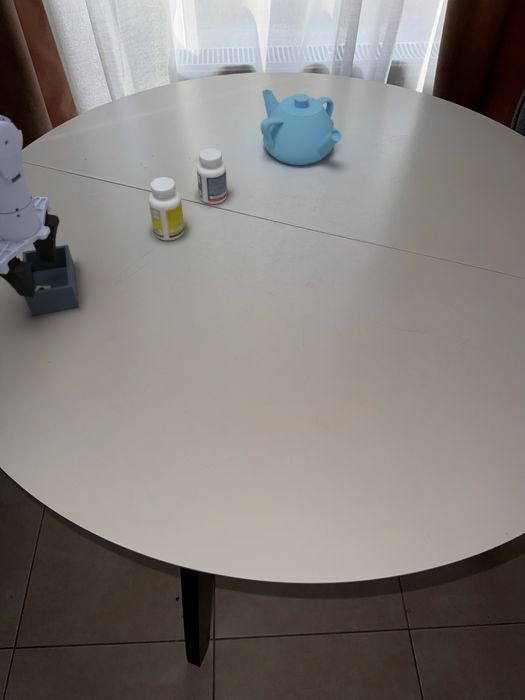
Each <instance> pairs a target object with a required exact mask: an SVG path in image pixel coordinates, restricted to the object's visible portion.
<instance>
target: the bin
mask: <svg viewBox="0 0 525 700" xmlns="http://www.w3.org/2000/svg"><path fill="white" fill-rule="evenodd" d="M22 261H26V262H32V265H31V279H32V283H33V286H34V290H36V287H37V286H51V288H48V289H42V290H37V291H35V295H34V296H33V297H32V298H31V297H24V300H25V302H26V305H27V307H28V310H29V311H30V314H31V316H39V315H43V314H45V315H46V314H50V313H56V312H61V311H67V310H72V309H77V308H78V309H79V308H80V307H79V305H80V304H79V297H78V287H77V278H76V277H77V276H76V268H75V264H74V260H73V257H72V254H71V250H70V248H69V244H64V245H56V261H55V262H54V263H53V262H45V261H42V260H41V259H40V258H39V256H38V254H37V252H36V250H35V249H31V250H27V251H25V250H24V251H22Z"/></svg>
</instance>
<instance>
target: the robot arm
mask: <svg viewBox="0 0 525 700" xmlns="http://www.w3.org/2000/svg"><path fill="white" fill-rule="evenodd" d="M23 143H24V139H23V132H22V130H21V129H18V127H17V126H16V125H15V124H14V122H12V120H11V119H10V118H9V117H7V116H5V115H1V114H0V278H2V279H3V280H4V281H6V282H7V283H8V284H9V285H10V286H11V287H12V288H13V289H14V291H15V292H16V293H17V294H18V295H19V296H20V297H23V298H25V297H31V298H32V297H33V296H34V295H35V290H34V286H33V283H32V279H31V265H32V262H26V261H23V260H21V258H20V257H17V256H18V255H19V254H20V253H21V252H22V253H23V252H24V251H25V249H27V248H28V247H30V246H31V245H33V248H34V250H36V252H37V254H38V256H39V258H40V259H41V260H42V261H45V262H53V263H54V262H55V261H56V246H57V233H58V228H59V225H60V218H59V216H58V215H56V214H51V213H50V212H51V210H52V205H51V202H50V200H49V197H45V196H44V197H43V196H34V197H33V196H32V193H31V189H30V187H29V185H28V182H27V178H26V176H25V173H24V165H25V162H24V160H23V157H22V156H23V155H22V151H23V145H24V144H23ZM49 213H50V214H49Z"/></svg>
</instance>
